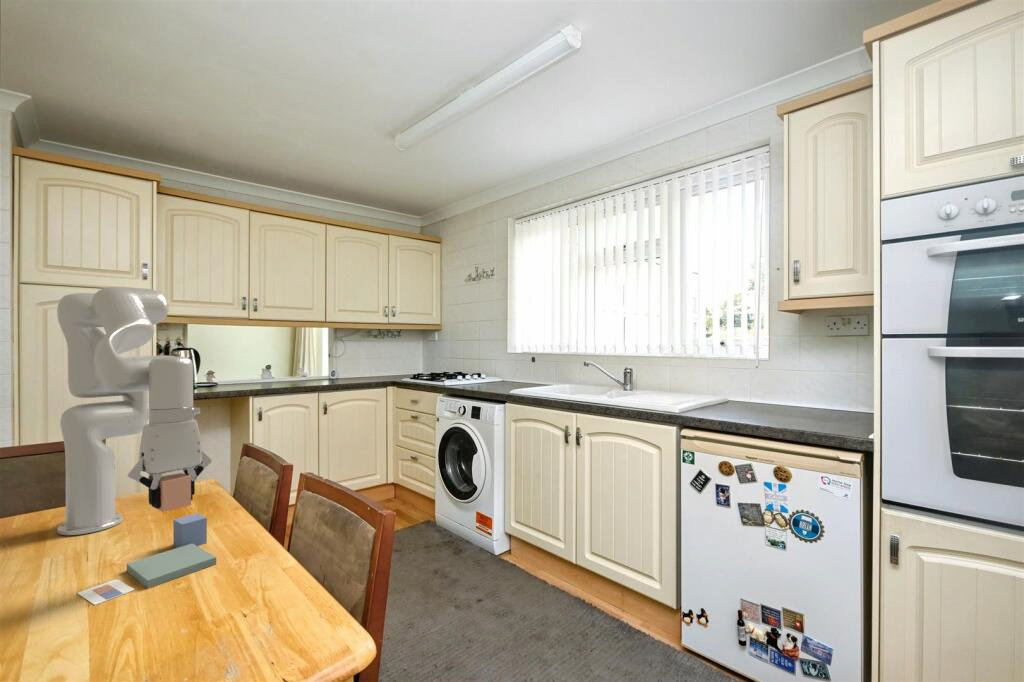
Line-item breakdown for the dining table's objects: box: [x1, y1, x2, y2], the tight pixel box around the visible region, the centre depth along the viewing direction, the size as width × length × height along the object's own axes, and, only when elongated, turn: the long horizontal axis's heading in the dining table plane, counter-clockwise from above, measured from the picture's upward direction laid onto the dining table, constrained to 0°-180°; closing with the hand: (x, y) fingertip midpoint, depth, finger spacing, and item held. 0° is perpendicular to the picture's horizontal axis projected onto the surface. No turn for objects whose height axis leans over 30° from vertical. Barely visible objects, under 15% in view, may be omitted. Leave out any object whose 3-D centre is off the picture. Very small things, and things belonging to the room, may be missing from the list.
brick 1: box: [157, 472, 192, 513], centre depth 99 cm, size 5×5×6 cm
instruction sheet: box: [77, 578, 135, 606], centre depth 89 cm, size 8×6×1 cm
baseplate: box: [126, 543, 217, 589], centre depth 99 cm, size 12×12×2 cm
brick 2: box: [172, 513, 208, 548], centre depth 110 cm, size 5×5×6 cm
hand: (172, 502), depth 99 cm, fingers closed on brick 1, 5 cm apart
